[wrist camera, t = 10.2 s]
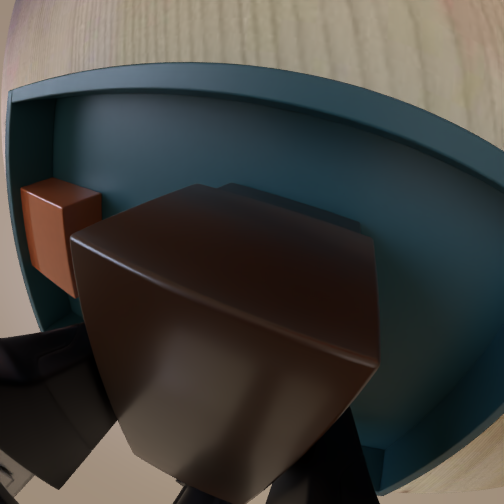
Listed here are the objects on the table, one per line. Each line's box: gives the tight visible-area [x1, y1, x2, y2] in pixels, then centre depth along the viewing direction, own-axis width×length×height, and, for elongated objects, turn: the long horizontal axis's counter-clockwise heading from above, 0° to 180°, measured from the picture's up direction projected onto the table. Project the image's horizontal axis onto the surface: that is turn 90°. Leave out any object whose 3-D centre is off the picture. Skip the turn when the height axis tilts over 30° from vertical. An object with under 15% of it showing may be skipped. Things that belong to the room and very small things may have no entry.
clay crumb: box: [20, 177, 102, 299], centre depth 10 cm, size 4×4×2 cm
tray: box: [5, 62, 504, 496], centre depth 8 cm, size 20×13×3 cm, turn 78°
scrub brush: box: [70, 183, 381, 504], centre depth 7 cm, size 4×8×5 cm, turn 168°
